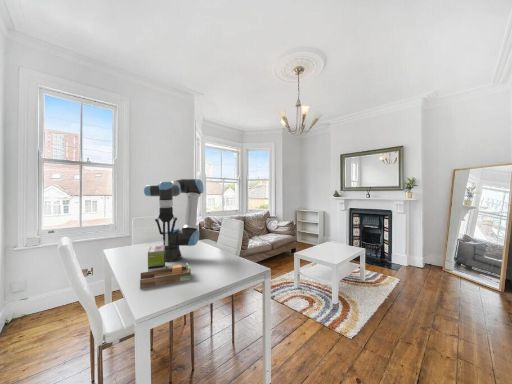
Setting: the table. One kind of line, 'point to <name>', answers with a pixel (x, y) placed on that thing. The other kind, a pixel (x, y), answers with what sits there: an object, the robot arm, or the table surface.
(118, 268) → the table surface
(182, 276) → the track
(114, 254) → the table surface
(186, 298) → the table surface
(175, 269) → the block
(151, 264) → the tea box
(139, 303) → the table surface
